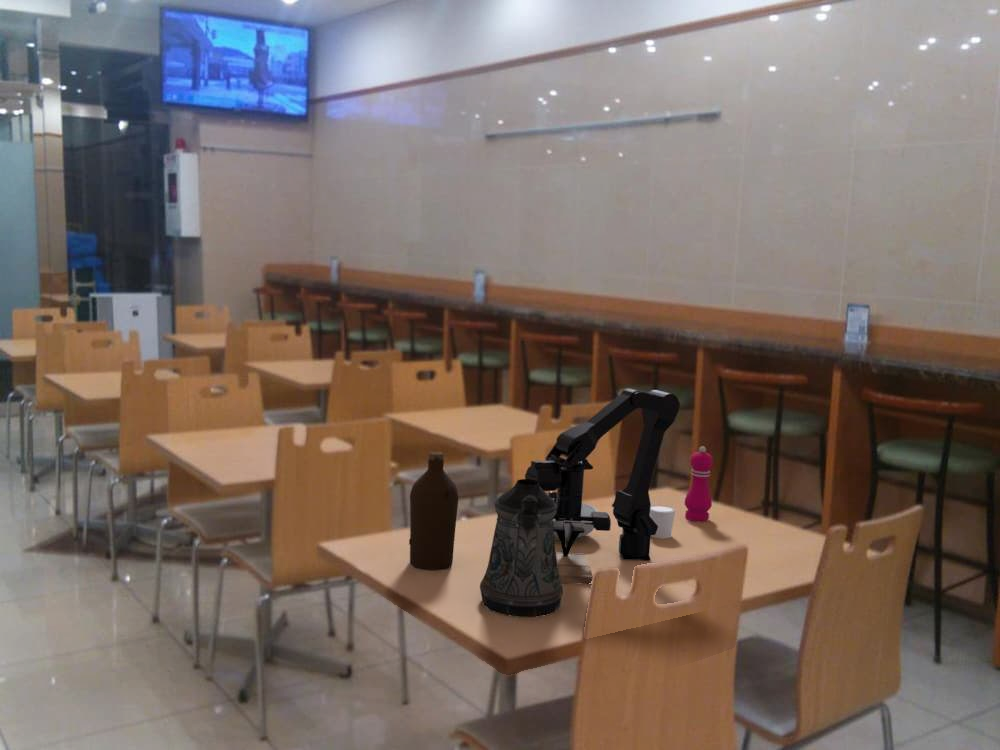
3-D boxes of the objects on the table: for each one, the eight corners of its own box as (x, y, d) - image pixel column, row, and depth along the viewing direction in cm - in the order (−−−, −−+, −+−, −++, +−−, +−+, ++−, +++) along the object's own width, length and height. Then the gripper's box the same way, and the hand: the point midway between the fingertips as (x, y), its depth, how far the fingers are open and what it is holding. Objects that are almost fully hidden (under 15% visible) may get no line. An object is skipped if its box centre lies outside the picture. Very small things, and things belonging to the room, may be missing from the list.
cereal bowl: (514, 532, 250) (516, 504, 249) (562, 523, 261) (563, 496, 260) (563, 550, 238) (565, 521, 237) (610, 539, 249) (612, 511, 248)
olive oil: (463, 561, 225) (468, 452, 222) (441, 574, 215) (447, 460, 212) (421, 553, 229) (426, 445, 226) (398, 565, 219) (403, 453, 216)
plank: (584, 560, 229) (584, 553, 228) (587, 572, 222) (587, 565, 221) (509, 556, 228) (510, 549, 228) (510, 568, 221) (510, 561, 221)
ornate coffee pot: (535, 585, 212) (542, 469, 209) (585, 617, 195) (594, 491, 192) (465, 594, 204) (471, 473, 201) (511, 628, 187) (519, 497, 184)
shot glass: (678, 538, 253) (680, 511, 252) (654, 540, 250) (657, 512, 249) (664, 530, 259) (666, 504, 258) (641, 532, 256) (643, 505, 256)
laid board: (589, 573, 221) (589, 566, 221) (592, 584, 214) (593, 576, 214) (507, 569, 221) (508, 562, 221) (508, 580, 214) (508, 572, 214)
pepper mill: (678, 515, 275) (684, 443, 272) (702, 514, 277) (708, 443, 275) (691, 522, 268) (697, 449, 266) (715, 522, 270) (721, 449, 268)
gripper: (607, 482, 232) (602, 547, 235) (527, 477, 232) (523, 542, 234) (613, 494, 221) (608, 563, 224) (528, 490, 221) (524, 558, 223)
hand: (565, 556), depth 227 cm, fingers closed, pressing on plank
